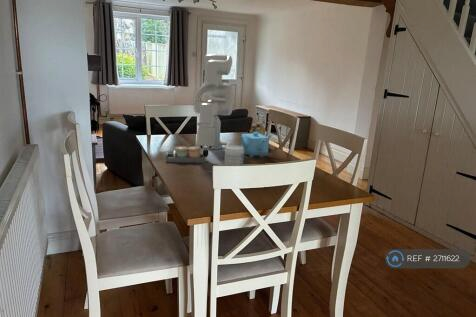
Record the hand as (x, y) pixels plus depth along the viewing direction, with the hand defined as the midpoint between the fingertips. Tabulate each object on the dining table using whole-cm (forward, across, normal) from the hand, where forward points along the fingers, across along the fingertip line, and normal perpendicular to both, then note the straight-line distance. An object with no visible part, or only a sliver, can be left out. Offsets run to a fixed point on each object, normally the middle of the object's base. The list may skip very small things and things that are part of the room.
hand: (205, 156), depth 204 cm
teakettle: (+3, +32, +13) cm, 35 cm away
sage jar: (+2, -14, 0) cm, 14 cm away
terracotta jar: (+2, -6, 0) cm, 7 cm away
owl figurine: (+3, +38, +39) cm, 54 cm away
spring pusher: (+2, -18, 0) cm, 18 cm away
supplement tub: (+3, +13, -25) cm, 28 cm away
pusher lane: (+3, -11, 0) cm, 11 cm away
